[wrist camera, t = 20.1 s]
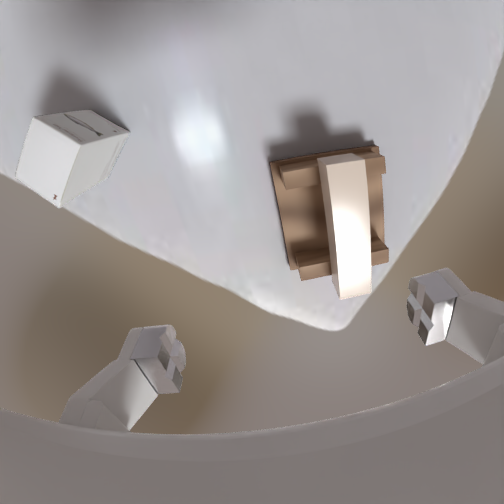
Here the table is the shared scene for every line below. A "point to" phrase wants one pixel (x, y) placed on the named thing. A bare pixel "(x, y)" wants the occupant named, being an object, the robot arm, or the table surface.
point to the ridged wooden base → (322, 209)
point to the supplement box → (68, 154)
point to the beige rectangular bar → (347, 222)
